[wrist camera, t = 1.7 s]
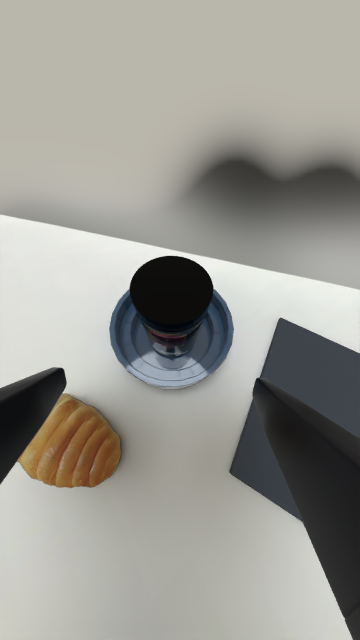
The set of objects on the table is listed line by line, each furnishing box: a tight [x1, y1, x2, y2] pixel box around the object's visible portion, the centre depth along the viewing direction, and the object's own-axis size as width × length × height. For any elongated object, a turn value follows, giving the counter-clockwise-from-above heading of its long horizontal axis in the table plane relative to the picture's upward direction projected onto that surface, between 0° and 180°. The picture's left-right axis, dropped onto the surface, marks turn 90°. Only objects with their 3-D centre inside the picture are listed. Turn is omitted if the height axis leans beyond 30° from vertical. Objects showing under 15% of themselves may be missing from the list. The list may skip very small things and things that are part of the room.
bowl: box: [109, 289, 234, 389], centre depth 21 cm, size 14×14×4 cm
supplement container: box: [130, 256, 213, 356], centre depth 18 cm, size 7×7×10 cm
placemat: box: [230, 318, 360, 522], centre depth 19 cm, size 20×15×1 cm
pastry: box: [17, 393, 121, 488], centre depth 16 cm, size 9×7×4 cm
